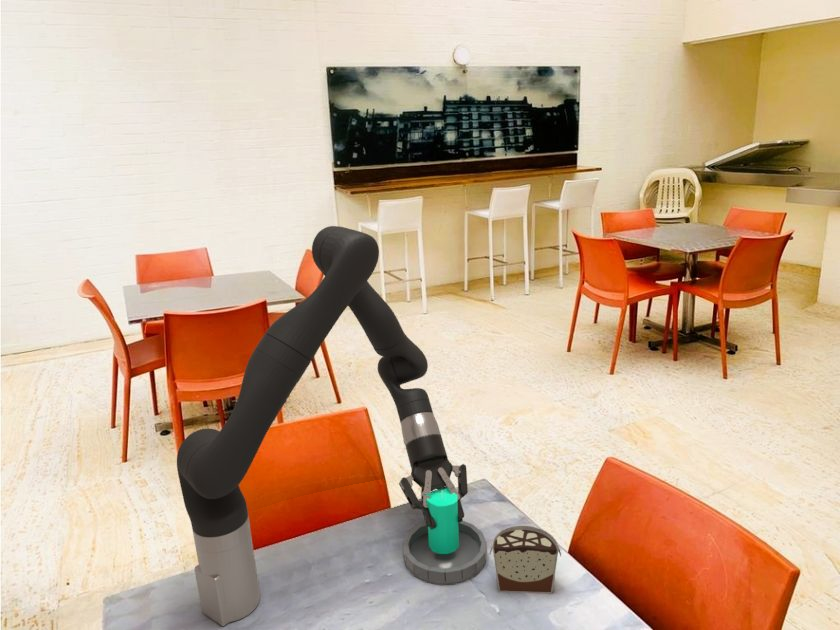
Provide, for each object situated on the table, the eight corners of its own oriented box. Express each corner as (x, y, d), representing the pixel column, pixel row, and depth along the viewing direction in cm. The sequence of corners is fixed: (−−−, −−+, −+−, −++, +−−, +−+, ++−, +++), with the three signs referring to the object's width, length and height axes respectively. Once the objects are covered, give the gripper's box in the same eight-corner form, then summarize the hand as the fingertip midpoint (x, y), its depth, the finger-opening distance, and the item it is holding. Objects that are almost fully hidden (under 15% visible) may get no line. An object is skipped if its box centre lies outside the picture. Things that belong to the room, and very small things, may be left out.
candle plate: (458, 597, 106) (457, 584, 105) (387, 564, 115) (386, 551, 114) (501, 547, 118) (500, 535, 117) (434, 521, 127) (434, 509, 126)
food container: (556, 570, 111) (557, 524, 108) (560, 594, 105) (561, 546, 103) (490, 568, 113) (489, 522, 110) (490, 592, 107) (489, 544, 104)
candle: (443, 558, 112) (441, 503, 109) (422, 543, 116) (419, 490, 113) (465, 544, 116) (464, 490, 112) (444, 530, 120) (442, 477, 117)
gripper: (391, 440, 115) (415, 530, 107) (460, 426, 119) (487, 512, 112) (386, 452, 121) (407, 538, 114) (451, 438, 125) (476, 520, 118)
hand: (446, 524), depth 113 cm, fingers closed on candle, 4 cm apart
